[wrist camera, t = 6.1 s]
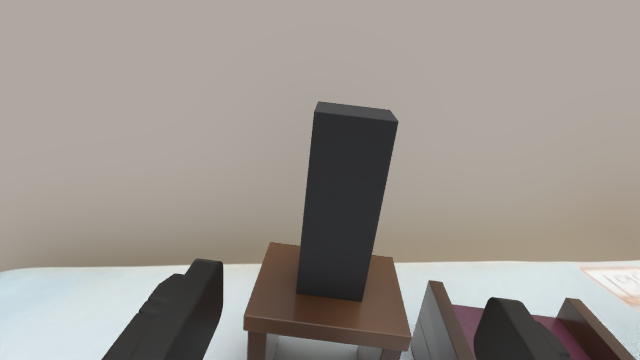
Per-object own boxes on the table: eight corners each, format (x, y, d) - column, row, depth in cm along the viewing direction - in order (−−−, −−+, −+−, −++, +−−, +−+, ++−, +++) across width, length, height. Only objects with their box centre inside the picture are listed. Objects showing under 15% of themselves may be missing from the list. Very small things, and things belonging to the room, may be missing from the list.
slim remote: (359, 270, 25) (389, 109, 20) (362, 302, 22) (398, 121, 17) (301, 262, 25) (318, 100, 20) (295, 293, 22) (314, 110, 17)
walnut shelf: (372, 347, 31) (392, 257, 27) (381, 443, 23) (412, 337, 20) (264, 333, 31) (270, 241, 27) (240, 424, 23) (243, 315, 20)
